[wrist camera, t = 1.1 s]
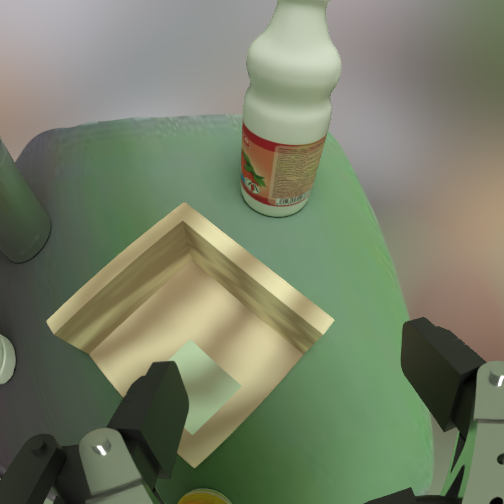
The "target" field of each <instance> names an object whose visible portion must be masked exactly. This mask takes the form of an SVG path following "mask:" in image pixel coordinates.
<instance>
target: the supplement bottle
mask: <svg viewBox="0 0 504 504" xmlns="http://www.w3.org/2000/svg"><path fill="white" fill-rule="evenodd" d="M178 504H231V502H230V501H229V499H228V498H227V497H226V496H224V495H223V494H221V493H220V492H217V491H215V490H211V489H195V490H192V491H190V492H188V493H186V494H185V495H184V496H183V497H182V498H181V499H180V501H179V502H178Z"/></svg>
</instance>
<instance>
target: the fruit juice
mask: <svg viewBox="0 0 504 504" xmlns="http://www.w3.org/2000/svg"><path fill="white" fill-rule="evenodd" d="M330 1H331V0H278V2H277V6H276V9H275V12H274V14H273V16H272V19H271V21H270V23H269V24H268V26H267V28H266V29H265V30H264V31H263V32H262V33H261V34H260V35H259V36H258V37H257V38H256V39H255V40H254V41H253V42H252V44H251V45H250V47H249V50H248V53H247V60H246V65H247V71H248V75H249V78H250V86H249V87H248V89H247V91H246V94H245V98H244V105H243V125H242V155H241V191H242V195H243V197H244V199H245V201H246V202H247V204H248V205H249V206H250V207H251V208H253V209H254V210H256V211H257V212H259V213H262V214H264V215H268V216H274V217H283V216H288V215H292V214H294V213H296V212H298V211H299V210H301V209H302V208H303V207H304V205H305V204H306V203H307V201H308V199H309V197H310V193H311V190H312V186H313V183H314V179H315V176H316V172H317V169H318V165H319V161H320V158H321V154H322V151H323V147H324V143H325V139H326V136H327V132H328V129H329V125H330V120H331V114H332V103H331V99H330V96H331V93H332V91H333V90H334V88H335V86H336V85H337V83H338V81H339V78H340V74H341V59H340V56H339V53H338V52H337V50H336V48H335V46H334V45H333V43H332V41H331V39H330V36H329V32H328V27H327V20H326V8H327V3H328V2H330Z"/></svg>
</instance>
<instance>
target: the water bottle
mask: <svg viewBox="0 0 504 504" xmlns="http://www.w3.org/2000/svg"><path fill="white" fill-rule="evenodd" d="M15 365H16V356H15V350H14V347H13V345H12V343H11V342H10V341H9V340H8V339H7V338H6V337H4V336H2V335H1V334H0V384H4V383H6V382H7V381H8V380H9V379H10V378H11V377H12V375H13V373H14V368H15Z"/></svg>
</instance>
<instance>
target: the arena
mask: <svg viewBox="0 0 504 504" xmlns="http://www.w3.org/2000/svg"><path fill="white" fill-rule="evenodd" d="M333 321H334V319H333V318H332V317H330V316H329V315H328V314H327V313H325V312H324V311H323V310H321V309H320V308H319V307H318V306H316V305H315V304H314V303H312V302H311V301H310V300H309V299H307V298H306V297H305V296H304V295H302V294H301V293H300V292H298V291H297V290H296V289H295V288H293V287H292V286H291V285H290V284H288V283H287V282H286V281H284V280H283V279H282V278H281V277H279V276H278V275H277V274H275V273H274V272H273V271H272V270H270V269H269V268H268V267H267V266H265V265H264V264H263V263H261V262H260V261H259V260H258V259H256V258H255V257H254V256H253V255H251V254H250V253H249V252H247V251H246V250H245V249H244V248H242V247H241V246H240V245H239V244H237V243H236V242H235V241H233V240H232V239H231V238H230V237H228V236H227V235H226V234H225V233H223V232H222V231H221V230H220V229H218V228H217V227H216V226H214V225H213V224H212V223H211V222H209V221H208V220H207V219H206V218H204V217H203V216H202V215H200V214H199V213H198V212H197V211H195V210H194V209H193V208H192V207H190V206H189V205H188V204H187V203H185V202H184V203H182V204H181V205H180V206H178V207H177V208H176V209H175V210H173V211H172V212H171V213H169V214H168V215H167V216H166V217H164V218H163V219H162V220H160V221H159V222H158V223H157V224H155V225H154V226H153V227H152V228H150V229H149V230H148V231H147V232H145V233H144V234H143V235H142V236H141V237H139V238H138V239H137V240H136V241H134V242H133V243H132V244H131V245H130V246H128V247H127V248H126V249H125V250H124V251H123V252H121V253H120V254H119V255H118V256H117V257H115V258H114V259H113V260H112V261H111V262H110V263H109V264H107V265H106V266H105V267H104V268H103V269H102V270H101V271H99V272H98V273H97V274H96V275H95V276H94V277H93V278H92V279H90V280H89V281H88V282H87V283H86V284H85V285H84V286H83V287H82V288H81V289H79V290H78V291H77V292H76V293H75V294H74V295H73V296H72V297H71V298H70V299H69V300H68V301H67V302H66V303H65V304H63V305H62V306H61V307H60V308H59V309H58V310H57V311H56V312H55V313H54V314H53V315H52V316H51V317H50V318H49V319H48V320H47V321H46V322H47V324H48V326H49V327H50V329H51V331H52V332H53V334H54V335H56V336H57V337H59V338H61V339H62V340H64V341H66V342H68V343H69V344H71V345H73V346H75V347H76V348H78V349H80V350H82V351H84V352H86V353H88V354H89V355H90V356H91V358H92V359H93V360H94V362H95V363H96V364H97V366H98V367H99V368H100V370H101V371H102V372H103V373H104V375H105V376H106V377H107V378H108V380H109V381H110V382H111V383H112V385H113V386H114V387H115V388H116V389H117V391H118V392H119V393H120V394H121V395H122V397H123V398H124V396H125V395H126V393H127V391H128V389H129V388H130V386H131V384H132V383H133V382H135V381H136V380H137V379H138V378H139V377H141V376H145V375H146V373H147V371H148V370H149V368H150V366H151V364H152V363H153V362H160V361H175V362H176V364H177V366H178V369H179V372H180V375H181V378H182V381H183V383H184V386H185V389H186V392H187V394H188V398H189V412H188V415H187V419H186V422H185V426H184V430H183V433H182V437H181V440H180V444H179V447H178V451H177V454H179V455H180V456H181V457H182V458H183V459H184V460H185V461H186V462H188V463H189V464H190V465H191V466H192V467H193V468H196V467H197V466H198V465H199V464H200V463H201V462H202V461H203V460H204V459H205V458H207V457H208V456H209V455H210V454H211V453H212V452H213V451H214V450H215V449H216V448H217V447H218V446H219V445H220V444H221V443H222V442H223V441H224V440H225V439H226V438H227V437H228V436H230V435H231V434H232V433H233V432H234V431H235V430H236V429H237V428H238V426H239V425H240V424H241V423H242V422H243V421H244V420H245V419H246V418H247V417H248V416H249V415H250V414H251V413H252V412H253V411H254V410H255V409H256V408H257V407H258V406H259V405H260V403H261V402H262V401H263V400H264V399H265V398H266V397H267V396H268V395H269V394H270V393H271V391H272V390H273V389H274V388H275V387H276V386H277V385H278V384H279V383H280V381H281V380H282V379H283V378H284V377H285V376H286V375H287V373H288V372H289V371H290V370H291V369H292V368H293V366H294V365H295V364H296V363H297V362H298V360H299V359H300V358H301V357H302V356H303V354H304V353H305V352H306V351H307V350H308V349H309V348H310V347H311V346H312V345H313V344H314V343H315V342H316V341H317V340H318V339H319V338H320V337H321V336H322V335H323V334H324V333H325V332H326V330H327V329H328V328H329V327H330V325H331V324H332V323H333Z"/></svg>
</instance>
